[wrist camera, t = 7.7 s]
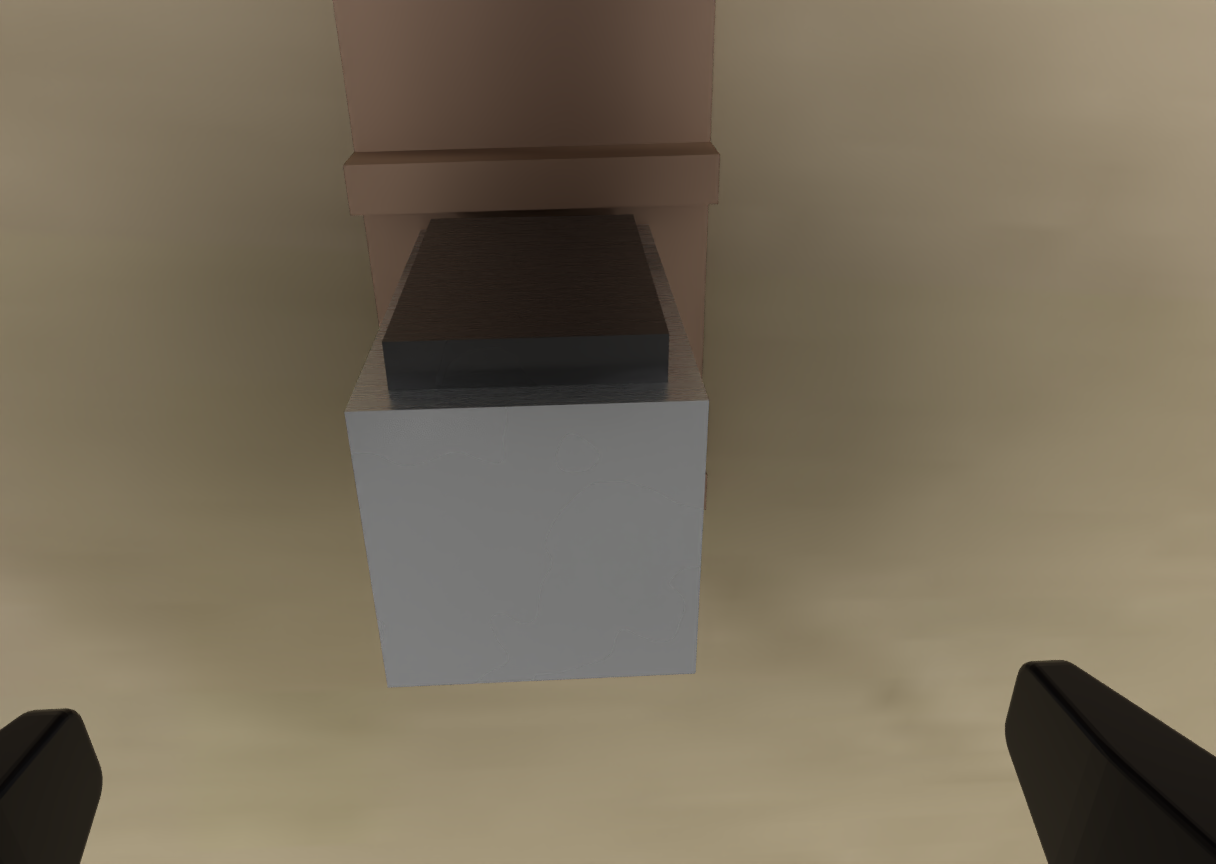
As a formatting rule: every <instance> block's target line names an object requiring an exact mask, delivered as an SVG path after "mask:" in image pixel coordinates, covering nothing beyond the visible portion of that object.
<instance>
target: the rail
mask: <svg viewBox="0 0 1216 864" xmlns="http://www.w3.org/2000/svg"><path fill="white" fill-rule="evenodd" d="M333 5H334V12H335V19H336V26H337V33H338V40H339V47H340V54H341V61H342V68H343V75H344V82H345V89H346V96H347V103H348V110H349V117H350V124H351V132H352V139H353V146H354V153H353V154H352V155H351V157H350V158H349V159H348V160H347V161H346V162H345V164H344V165H343V169H344V176H345V182H346V189H347V196H348V203H349V209H350V215H363V216H364V223H365V230H366V237H367V244H368V251H369V258H370V265H371V272H372V279H373V286H374V293H375V300H376V307H377V314H378V321H379V328H380V326H381V323H382V321H383V318H384V316H385V314H386V311H387V309H388V306H389V304H390V302H391V299H392V297H393V294H394V292H395V290H396V287H397V285H398V283H399V280H400V278H401V275H402V273H403V271H404V268H405V266H406V263H407V261H408V259H409V256H410V254H411V252H412V249H413V247H414V244H415V242H416V240H417V237H418V235H419V232H420V230H427V228H428V225H429V223H430V220H431V219H441V218H486V217H532V216H577V215H622V214H633V215H634V219H635V222H636V225H649V227H650V230H651V233H652V236H653V239H654V242H655V245H656V247H657V250H658V253H659V256H660V259H661V262H662V265H663V268H664V271H665V274H666V277H667V279H668V282H669V285H670V288H671V291H672V294H673V297H674V300H675V303H676V306H677V308H678V311H679V314H680V317H681V320H682V323H683V326H684V329H685V332H686V335H687V338H688V340H689V343H690V346H691V349H692V352H693V355H694V358H695V361H696V364H697V367H698V370H699V372H700V375H701V378H702V369H703V340H704V311H705V283H706V254H707V225H708V204H718V192H719V167H720V154H719V152H718V151H717V150H716V149H715V147H714V146H713V145H712V143H711V142H710V139H711V111H712V82H713V54H714V25H715V0H333ZM706 492H707V472H705V492H704V510H706Z"/></svg>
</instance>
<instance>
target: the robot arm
mask: <svg viewBox="0 0 1216 864" xmlns="http://www.w3.org/2000/svg"><path fill="white" fill-rule="evenodd" d="M1005 737H1006V743H1007V747H1008V750H1009V753H1010V756H1011V759H1012V762H1013V765H1014V767H1015V770H1016V773H1017V776H1018V779H1019V782H1020V785H1021V787H1022V790H1023V793H1024V796H1025V799H1026V802H1027V805H1028V807H1029V810H1030V813H1031V816H1032V819H1033V822H1034V825H1035V828H1036V830H1037V833H1038V836H1039V839H1040V842H1041V845H1042V848H1043V850H1044V853H1045V856H1046V859H1047V862H1048V864H1216V757H1215V756H1214V755H1212V754H1211V753H1209V752H1208V751H1206V750H1205V749H1203V748H1201V747H1200V746H1198V745H1197V744H1195V743H1194V742H1192V741H1191V740H1189V739H1188V738H1186V737H1185V736H1183V735H1182V734H1180V733H1178V732H1177V731H1175V730H1174V729H1172V728H1171V727H1169V726H1168V725H1166V724H1165V723H1163V722H1162V721H1160V720H1159V719H1157V718H1155V717H1154V716H1152V715H1151V714H1149V713H1148V712H1146V711H1145V710H1143V709H1142V708H1140V707H1139V706H1137V705H1136V704H1134V703H1132V702H1131V701H1129V700H1128V699H1126V698H1125V697H1123V696H1122V695H1120V694H1119V693H1117V692H1116V691H1114V690H1113V689H1111V688H1109V687H1108V686H1106V685H1105V684H1103V683H1102V682H1100V681H1099V680H1097V679H1096V678H1094V677H1093V676H1091V675H1090V674H1088V673H1086V672H1085V671H1083V670H1082V669H1080V668H1079V667H1077V666H1076V665H1074V664H1072V663H1070V662H1068V661H1064V660H1048V661H1030V662H1027V663H1025V664H1024V665H1022V667H1021V668H1020V669H1019V672H1018V675H1017V678H1016V682H1015V686H1014V690H1013V694H1012V698H1011V702H1010V706H1009V710H1008V714H1007V718H1006V723H1005ZM102 779H103V778H102V771H101V767H100V764H99V761H98V759H97V756H96V753H95V751H94V748H93V746H92V743H91V740H90V738H89V735H88V733H87V730H86V727H85V725H84V722H83V720H82V718H81V716H80V715H79V714H78V713H77V712H76V711H74V710H72V709H46V710H33V711H29V712H26V713H24V714H22V715H21V716H19V717H18V718H16V719H15V720H13V721H12V722H11V723H9V724H8V725H6V726H5V727H4V728H2V729H1V730H0V864H80V862H81V859H82V856H83V852H84V849H85V846H86V842H87V839H88V836H89V833H90V829H91V826H92V823H93V820H94V816H95V813H96V810H97V806H98V803H99V800H100V796H101V791H102Z"/></svg>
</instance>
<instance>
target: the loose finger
mask: <svg viewBox="0 0 1216 864" xmlns="http://www.w3.org/2000/svg"><path fill="white" fill-rule="evenodd" d="M708 412H709V399H708V396H707V393H706V390H705V387H704V384H703V381H702V378H701V375H700V372H699V370H698V367H697V364H696V361H695V358H694V355H693V352H692V349H691V346H690V343H689V340H688V338H687V335H686V332H685V329H684V326H683V323H682V320H681V317H680V314H679V311H678V308H677V306H676V303H675V300H674V297H673V294H672V291H671V288H670V285H669V282H668V279H667V277H666V274H665V271H664V268H663V265H662V262H661V259H660V256H659V253H658V250H657V247H656V245H655V242H654V239H653V236H652V233H651V230H650V227H649V225H636V222H635V219H634V215H633V214H622V215H577V216H532V217H486V218H441V219H431V220H430V223H429V225H428V228H427V230H420V232H419V235H418V237H417V240H416V242H415V244H414V247H413V249H412V252H411V254H410V256H409V259H408V261H407V263H406V266H405V268H404V271H403V273H402V275H401V278H400V280H399V283H398V285H397V287H396V290H395V292H394V294H393V297H392V299H391V302H390V304H389V306H388V309H387V311H386V314H385V316H384V318H383V321H382V323H381V326H380V328H379V330H378V333H377V335H376V337H375V340H374V342H373V345H372V347H371V349H370V352H369V354H368V357H367V359H366V361H365V364H364V366H363V368H362V371H361V373H360V376H359V378H358V380H357V383H356V385H355V388H354V390H353V392H352V395H351V397H350V400H349V402H348V404H347V407H346V409H345V411H344V413H345V419H346V426H347V432H348V438H349V445H350V451H351V457H352V464H353V470H354V476H355V483H356V489H357V495H358V502H359V508H360V514H361V521H362V527H363V533H364V540H365V546H366V552H367V559H368V565H369V571H370V578H371V584H372V590H373V597H374V603H375V609H376V616H377V622H378V628H379V635H380V641H381V647H382V654H383V660H384V666H385V673H386V679H387V685H388V687H408V686H430V685H452V684H473V683H495V682H517V681H539V680H561V679H583V678H605V677H627V676H649V675H670V674H692V673H695V672H696V652H697V632H698V612H699V592H700V572H701V552H702V532H703V512H704V492H705V472H706V452H707V432H708Z"/></svg>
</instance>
